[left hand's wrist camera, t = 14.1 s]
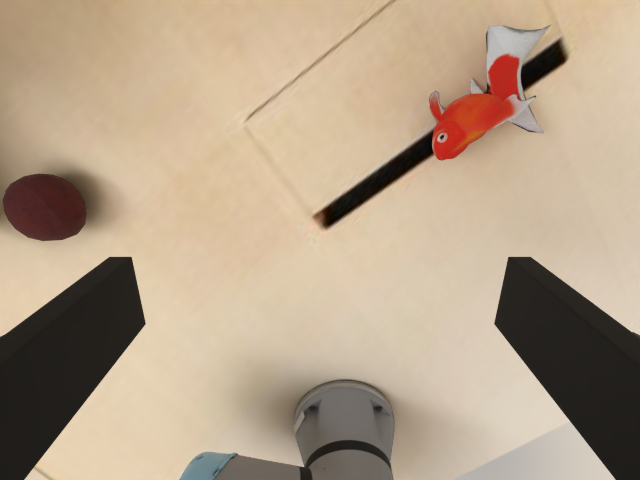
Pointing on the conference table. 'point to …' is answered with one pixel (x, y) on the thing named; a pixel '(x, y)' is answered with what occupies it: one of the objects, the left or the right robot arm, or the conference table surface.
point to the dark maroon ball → (44, 207)
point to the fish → (488, 95)
